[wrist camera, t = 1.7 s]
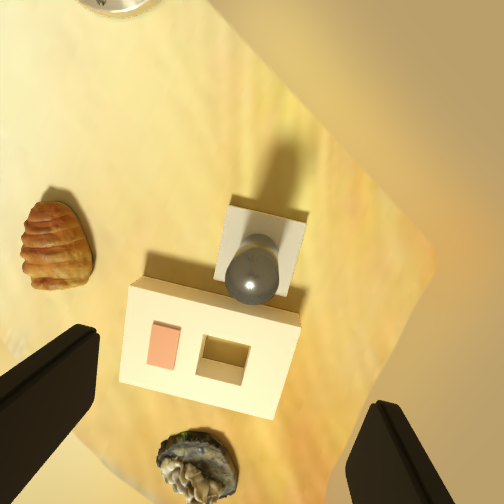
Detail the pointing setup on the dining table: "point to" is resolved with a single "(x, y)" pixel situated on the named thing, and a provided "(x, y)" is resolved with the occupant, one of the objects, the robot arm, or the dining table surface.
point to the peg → (254, 270)
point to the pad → (275, 227)
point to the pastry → (55, 248)
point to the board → (193, 341)
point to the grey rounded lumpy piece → (197, 467)
